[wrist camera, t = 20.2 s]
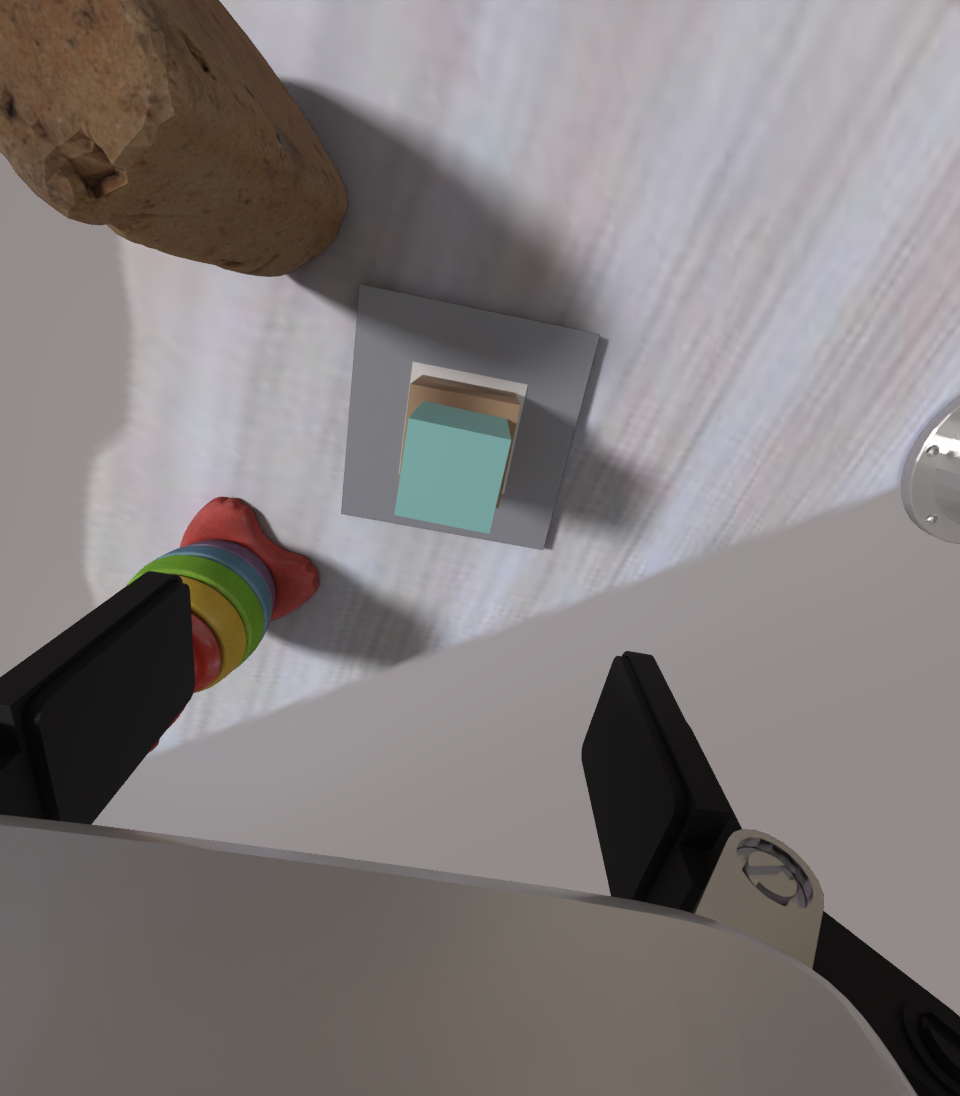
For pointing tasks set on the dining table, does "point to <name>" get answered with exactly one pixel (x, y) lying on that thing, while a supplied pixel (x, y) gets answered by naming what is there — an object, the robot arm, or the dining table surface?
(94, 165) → the brown rounded lumpy part
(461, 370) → the plate
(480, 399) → the walnut cube
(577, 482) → the dining table surface
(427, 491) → the teal block
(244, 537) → the stacking bear
